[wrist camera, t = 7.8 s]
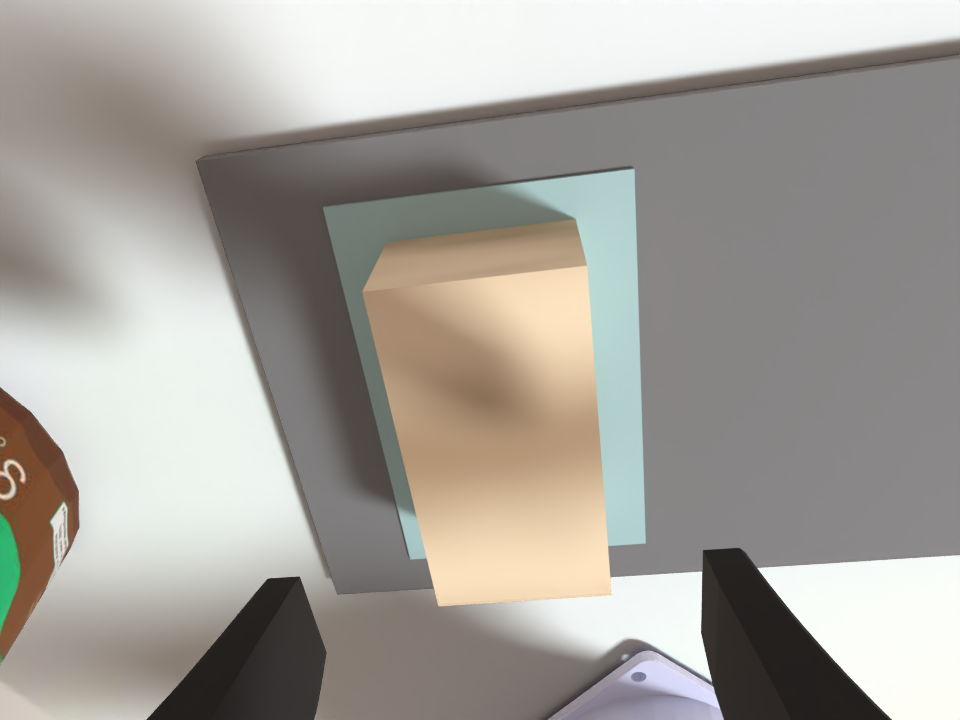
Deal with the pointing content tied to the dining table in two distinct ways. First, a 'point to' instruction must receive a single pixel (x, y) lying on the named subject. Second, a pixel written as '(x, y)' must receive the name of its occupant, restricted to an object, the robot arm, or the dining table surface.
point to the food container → (30, 515)
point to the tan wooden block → (496, 409)
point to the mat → (651, 310)
